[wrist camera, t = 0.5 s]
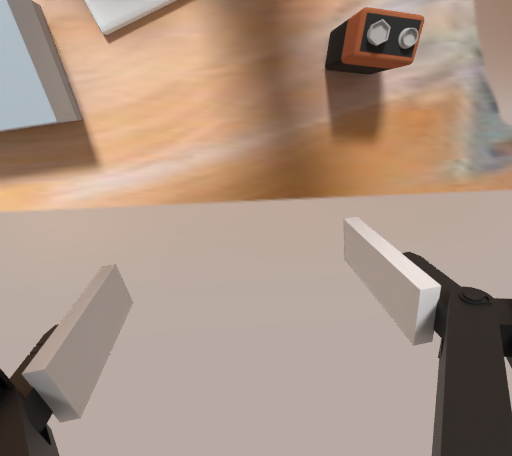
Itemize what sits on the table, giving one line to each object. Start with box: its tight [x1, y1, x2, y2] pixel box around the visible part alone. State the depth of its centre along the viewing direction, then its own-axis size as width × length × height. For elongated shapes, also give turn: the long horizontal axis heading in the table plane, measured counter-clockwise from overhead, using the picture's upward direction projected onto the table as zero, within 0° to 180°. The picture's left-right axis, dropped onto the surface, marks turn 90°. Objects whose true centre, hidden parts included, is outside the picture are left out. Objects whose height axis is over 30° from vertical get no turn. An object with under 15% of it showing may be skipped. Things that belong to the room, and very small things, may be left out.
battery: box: [325, 7, 424, 74], centre depth 31 cm, size 4×7×10 cm, turn 86°
